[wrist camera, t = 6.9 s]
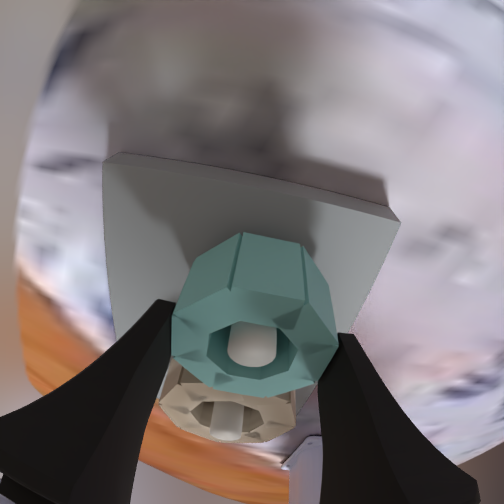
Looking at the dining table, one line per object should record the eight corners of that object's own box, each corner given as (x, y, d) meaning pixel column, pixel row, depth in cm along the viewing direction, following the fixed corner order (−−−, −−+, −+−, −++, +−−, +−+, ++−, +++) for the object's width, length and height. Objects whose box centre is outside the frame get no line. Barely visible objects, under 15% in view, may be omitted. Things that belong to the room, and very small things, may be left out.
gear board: (292, 404, 21) (292, 470, 16) (132, 373, 20) (110, 436, 16) (389, 207, 13) (442, 283, 8) (119, 152, 12) (41, 203, 7)
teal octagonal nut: (302, 347, 14) (304, 402, 11) (188, 326, 13) (171, 379, 11) (342, 252, 11) (358, 309, 8) (198, 222, 11) (173, 273, 8)
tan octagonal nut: (298, 399, 18) (299, 440, 15) (197, 403, 19) (189, 441, 17) (284, 328, 15) (285, 379, 12) (157, 337, 16) (141, 381, 13)
